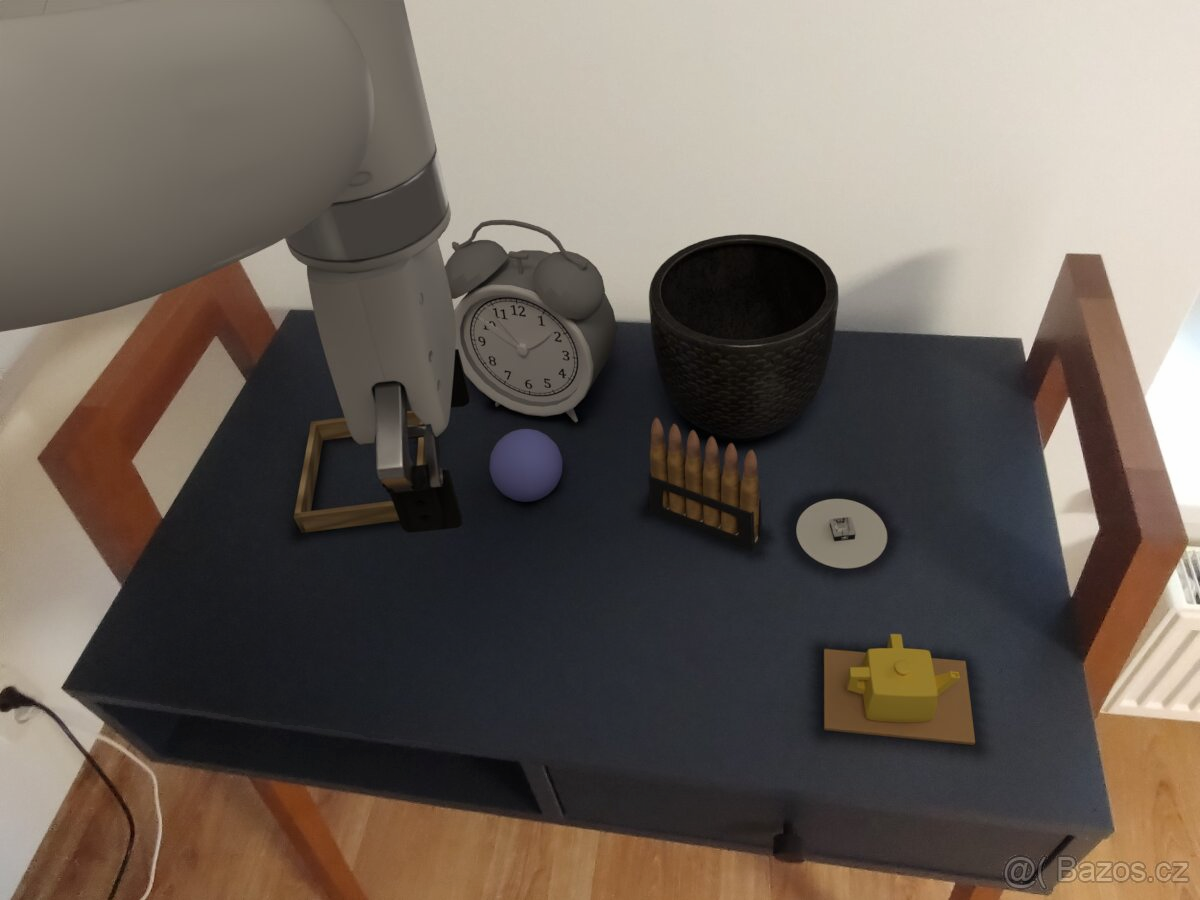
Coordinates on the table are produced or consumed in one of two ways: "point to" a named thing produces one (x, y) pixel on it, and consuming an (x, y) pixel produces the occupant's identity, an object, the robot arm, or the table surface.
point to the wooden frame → (341, 515)
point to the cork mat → (850, 716)
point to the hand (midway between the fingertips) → (439, 461)
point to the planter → (743, 332)
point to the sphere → (525, 465)
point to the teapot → (899, 683)
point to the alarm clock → (530, 323)
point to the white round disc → (841, 533)
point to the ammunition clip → (705, 488)
